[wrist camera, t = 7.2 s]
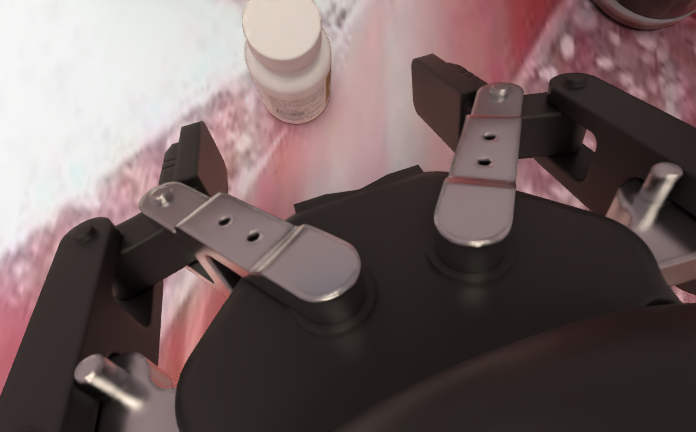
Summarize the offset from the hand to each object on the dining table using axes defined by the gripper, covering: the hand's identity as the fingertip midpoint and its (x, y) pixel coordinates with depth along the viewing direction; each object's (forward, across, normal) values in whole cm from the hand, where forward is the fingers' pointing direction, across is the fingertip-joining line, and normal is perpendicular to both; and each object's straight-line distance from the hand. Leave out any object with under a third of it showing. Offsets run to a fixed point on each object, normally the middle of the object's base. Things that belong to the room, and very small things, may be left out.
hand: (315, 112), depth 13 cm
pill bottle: (+10, 0, +3) cm, 11 cm away
